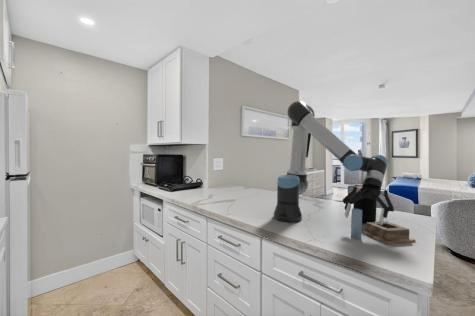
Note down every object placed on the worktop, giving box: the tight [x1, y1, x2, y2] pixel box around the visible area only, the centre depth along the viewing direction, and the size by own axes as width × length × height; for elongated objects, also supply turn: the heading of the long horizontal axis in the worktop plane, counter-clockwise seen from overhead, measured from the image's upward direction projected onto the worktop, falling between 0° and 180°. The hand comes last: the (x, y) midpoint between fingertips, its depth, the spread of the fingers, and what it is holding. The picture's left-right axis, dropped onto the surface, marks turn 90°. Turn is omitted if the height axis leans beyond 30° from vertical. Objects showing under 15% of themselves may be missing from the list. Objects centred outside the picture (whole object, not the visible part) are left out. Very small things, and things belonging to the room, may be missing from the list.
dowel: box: [350, 208, 363, 240], centre depth 95 cm, size 4×4×12 cm
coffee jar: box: [352, 185, 378, 224], centre depth 119 cm, size 11×11×18 cm
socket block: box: [362, 220, 416, 245], centre depth 97 cm, size 14×14×5 cm
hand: (362, 219), depth 96 cm, fingers open, 13 cm apart
